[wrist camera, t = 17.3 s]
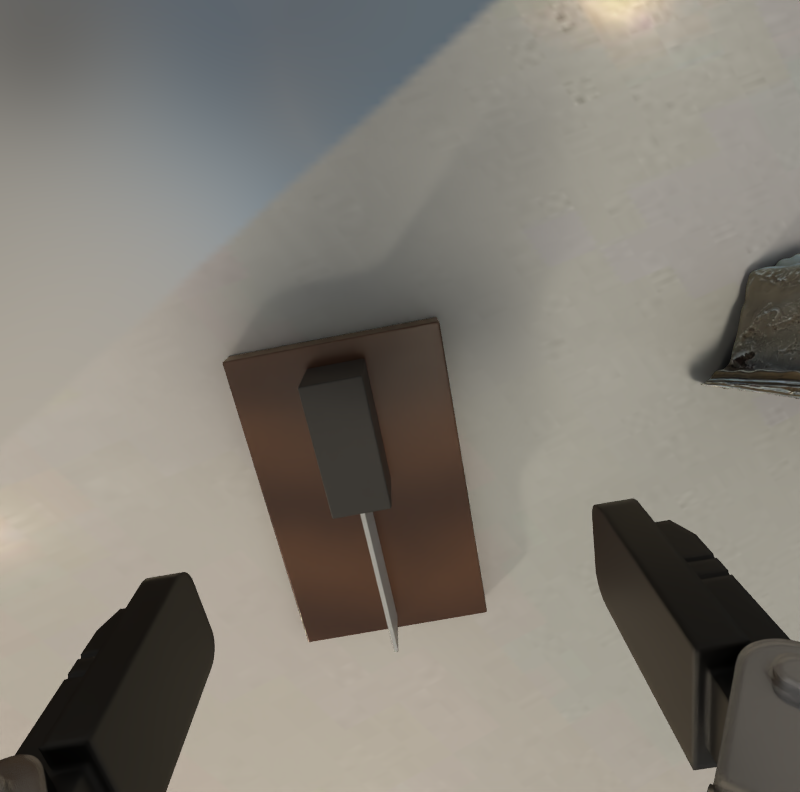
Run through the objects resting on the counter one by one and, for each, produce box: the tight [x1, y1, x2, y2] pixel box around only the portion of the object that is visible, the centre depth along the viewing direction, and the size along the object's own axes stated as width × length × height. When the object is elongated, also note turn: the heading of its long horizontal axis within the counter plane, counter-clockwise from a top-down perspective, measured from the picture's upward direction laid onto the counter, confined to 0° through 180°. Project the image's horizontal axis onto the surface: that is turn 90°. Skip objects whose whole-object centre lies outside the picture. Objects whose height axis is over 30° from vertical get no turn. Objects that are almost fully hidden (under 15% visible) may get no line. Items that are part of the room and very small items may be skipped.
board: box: [223, 317, 487, 642], centre depth 31 cm, size 18×11×1 cm, turn 11°
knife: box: [298, 359, 398, 652], centre depth 29 cm, size 16×3×3 cm, turn 11°
